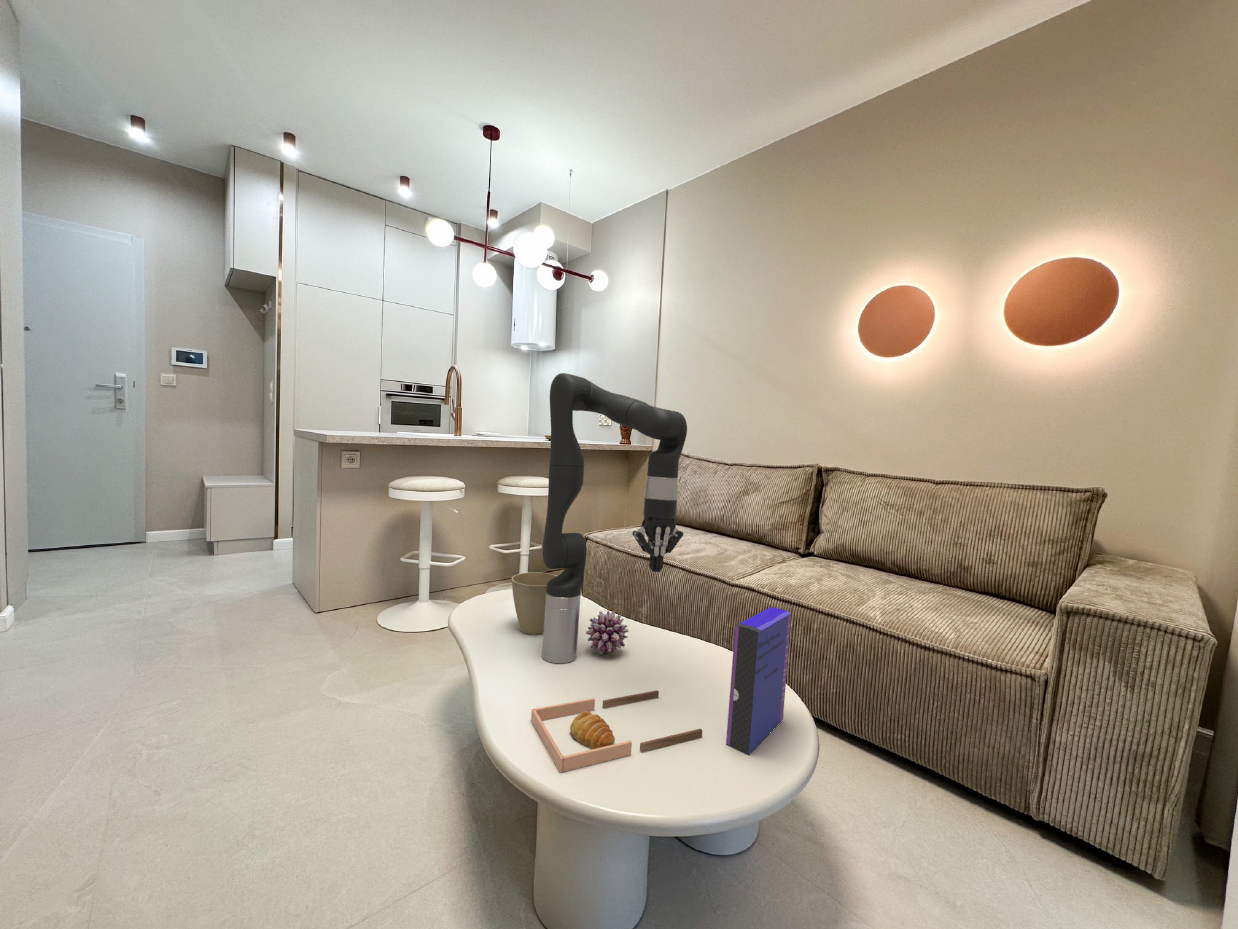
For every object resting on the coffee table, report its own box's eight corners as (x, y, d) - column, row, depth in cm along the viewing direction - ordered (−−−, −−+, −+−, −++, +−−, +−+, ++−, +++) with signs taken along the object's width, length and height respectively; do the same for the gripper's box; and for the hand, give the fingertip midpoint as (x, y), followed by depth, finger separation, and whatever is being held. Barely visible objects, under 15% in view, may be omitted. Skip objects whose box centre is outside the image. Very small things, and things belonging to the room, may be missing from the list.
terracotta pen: (530, 721, 100) (531, 709, 100) (593, 709, 106) (594, 698, 106) (560, 772, 85) (561, 759, 85) (630, 755, 91) (631, 742, 91)
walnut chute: (602, 707, 107) (602, 700, 107) (657, 696, 114) (657, 690, 114) (641, 752, 92) (641, 744, 92) (701, 737, 98) (702, 730, 98)
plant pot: (503, 624, 153) (506, 573, 152) (549, 620, 159) (552, 571, 159) (514, 642, 139) (518, 586, 139) (564, 637, 145) (568, 583, 145)
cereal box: (761, 712, 110) (770, 606, 109) (782, 720, 107) (791, 611, 106) (725, 744, 97) (735, 624, 96) (748, 755, 94) (758, 631, 93)
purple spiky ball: (628, 647, 141) (631, 606, 141) (624, 665, 129) (628, 620, 129) (588, 643, 142) (591, 602, 142) (581, 660, 130) (584, 616, 130)
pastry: (623, 745, 94) (624, 726, 94) (596, 759, 90) (597, 738, 90) (591, 723, 101) (592, 705, 101) (565, 735, 96) (566, 716, 96)
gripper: (675, 495, 119) (670, 566, 120) (628, 494, 113) (622, 568, 114) (694, 499, 113) (688, 574, 113) (644, 498, 106) (638, 577, 107)
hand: (655, 571), depth 113 cm, fingers closed
